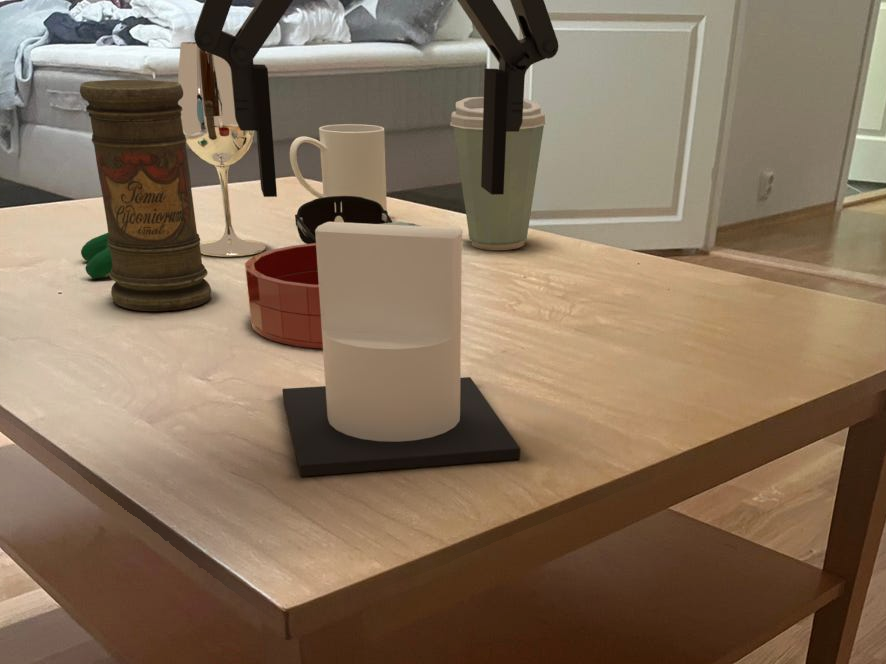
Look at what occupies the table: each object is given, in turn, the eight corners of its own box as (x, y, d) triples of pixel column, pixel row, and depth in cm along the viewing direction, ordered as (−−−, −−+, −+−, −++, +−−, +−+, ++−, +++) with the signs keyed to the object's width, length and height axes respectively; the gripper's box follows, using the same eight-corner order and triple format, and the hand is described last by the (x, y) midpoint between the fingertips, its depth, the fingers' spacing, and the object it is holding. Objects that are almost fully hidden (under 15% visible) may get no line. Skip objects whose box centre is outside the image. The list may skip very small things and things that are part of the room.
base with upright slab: (469, 398, 71) (472, 219, 65) (448, 446, 64) (448, 249, 57) (346, 389, 72) (337, 212, 66) (311, 436, 65) (296, 241, 58)
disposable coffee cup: (553, 252, 114) (561, 104, 106) (462, 257, 111) (463, 105, 103) (524, 233, 123) (529, 94, 114) (439, 237, 120) (438, 95, 112)
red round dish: (256, 354, 81) (250, 291, 79) (246, 300, 95) (241, 245, 92) (456, 343, 85) (456, 283, 82) (419, 293, 98) (418, 239, 96)
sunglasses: (382, 238, 118) (382, 193, 115) (411, 275, 110) (412, 228, 106) (293, 243, 115) (291, 197, 112) (316, 282, 107) (314, 234, 103)
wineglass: (193, 243, 114) (166, 40, 104) (262, 240, 116) (243, 41, 106) (198, 259, 108) (170, 44, 97) (271, 255, 110) (252, 45, 99)
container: (109, 291, 97) (71, 78, 87) (204, 284, 99) (178, 77, 90) (116, 316, 90) (75, 88, 80) (218, 308, 92) (191, 86, 83)
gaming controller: (115, 297, 101) (152, 251, 100) (82, 271, 99) (120, 224, 98) (108, 276, 108) (142, 233, 108) (77, 251, 106) (112, 207, 105)
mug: (369, 211, 132) (365, 122, 126) (398, 222, 127) (396, 130, 121) (283, 220, 126) (275, 127, 121) (310, 231, 121) (303, 135, 115)
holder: (300, 477, 62) (299, 465, 61) (283, 399, 73) (282, 388, 72) (520, 459, 64) (520, 448, 64) (470, 386, 76) (470, 376, 75)
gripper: (100, -320, 43) (168, 206, 55) (641, -268, 49) (598, 201, 60) (110, -285, 49) (170, 182, 61) (591, -243, 55) (561, 179, 66)
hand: (383, 192), depth 61 cm, fingers open, 13 cm apart
